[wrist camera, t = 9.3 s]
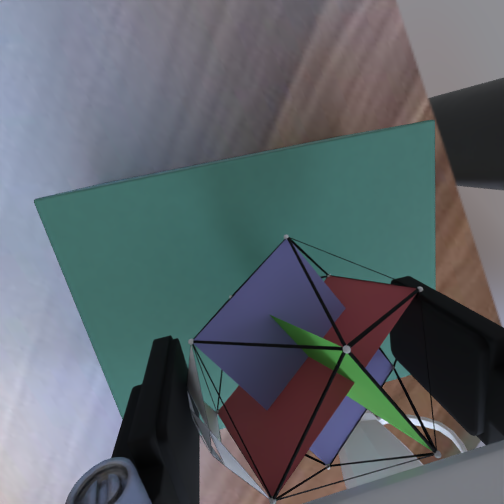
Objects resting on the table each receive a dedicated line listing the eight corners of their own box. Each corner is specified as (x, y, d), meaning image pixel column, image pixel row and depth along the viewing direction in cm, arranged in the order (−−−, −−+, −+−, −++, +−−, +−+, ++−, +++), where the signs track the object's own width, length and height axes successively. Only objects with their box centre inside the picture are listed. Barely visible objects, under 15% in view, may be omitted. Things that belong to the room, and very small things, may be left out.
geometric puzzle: (367, 162, 10) (318, 421, 4) (461, 308, 12) (521, 619, 6) (219, 245, 14) (95, 422, 8) (306, 340, 16) (255, 534, 10)
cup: (308, 416, 26) (353, 521, 18) (415, 370, 27) (502, 454, 19) (329, 471, 28) (378, 586, 21) (428, 428, 29) (510, 524, 21)
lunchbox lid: (422, 121, 14) (435, 118, 13) (426, 359, 17) (436, 368, 17) (42, 197, 12) (32, 200, 11) (138, 440, 16) (135, 454, 15)
